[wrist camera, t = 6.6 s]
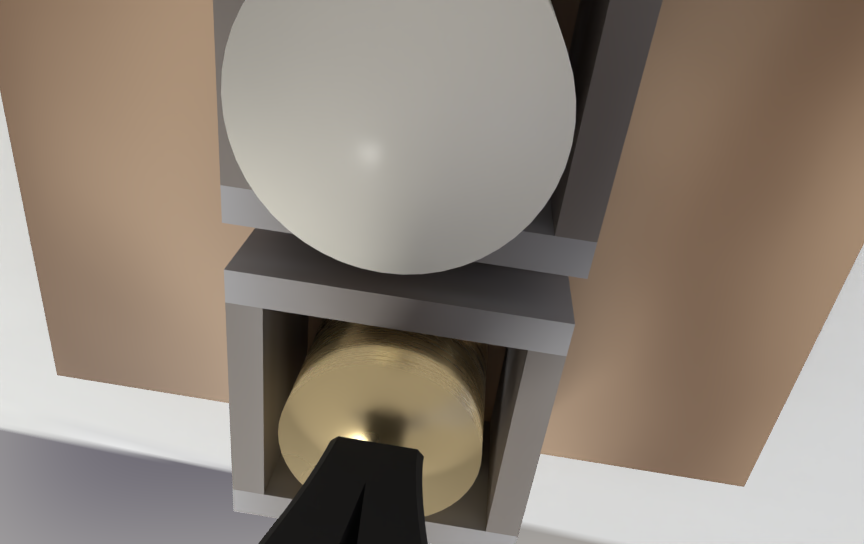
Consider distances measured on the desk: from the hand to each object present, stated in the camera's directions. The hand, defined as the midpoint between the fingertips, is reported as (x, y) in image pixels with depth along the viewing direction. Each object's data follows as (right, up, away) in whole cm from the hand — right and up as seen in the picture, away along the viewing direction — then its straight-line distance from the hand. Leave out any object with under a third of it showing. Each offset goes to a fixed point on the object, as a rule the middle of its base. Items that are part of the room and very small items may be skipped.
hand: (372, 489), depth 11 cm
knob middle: (+1, +6, -1) cm, 6 cm away
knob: (0, +2, +3) cm, 4 cm away
